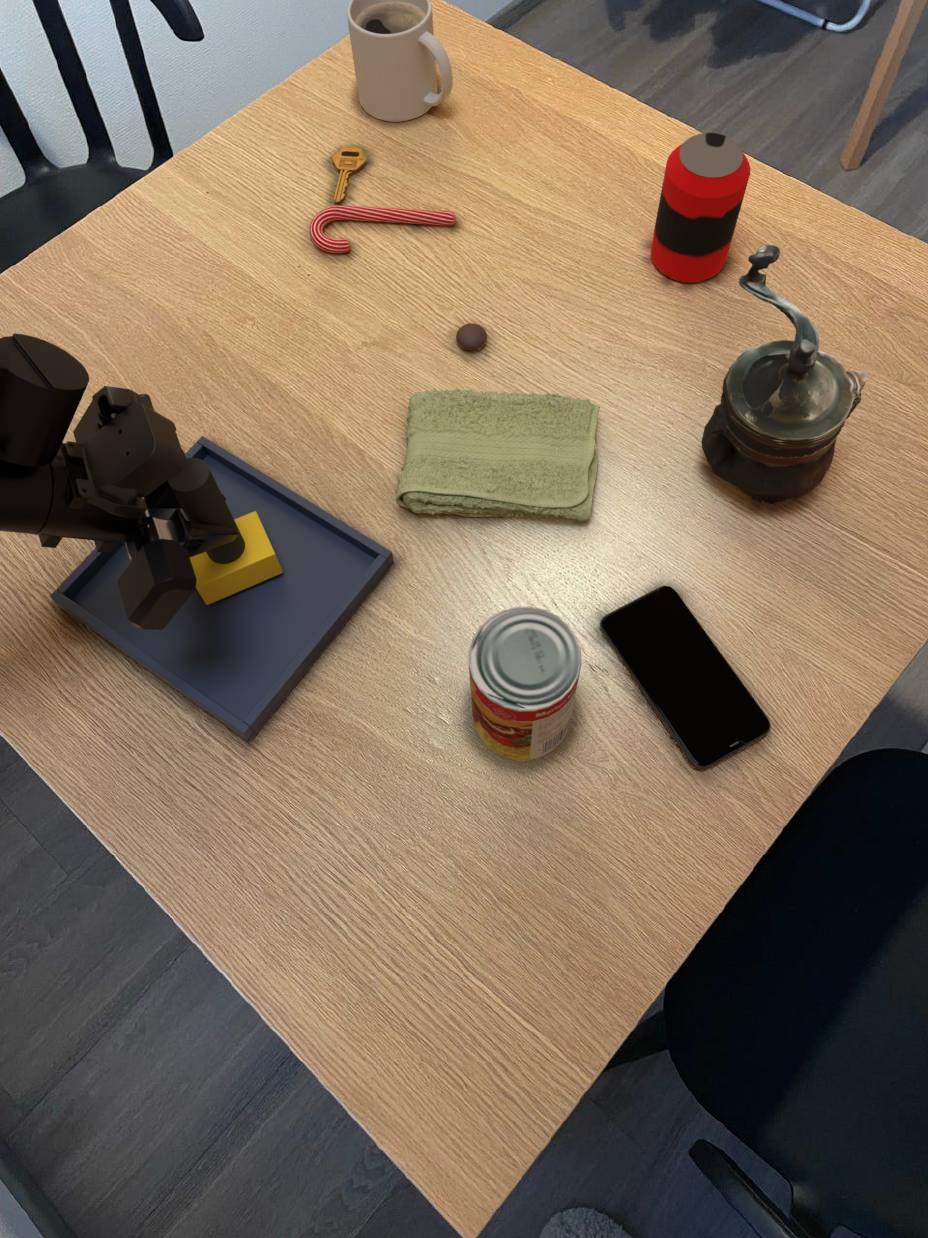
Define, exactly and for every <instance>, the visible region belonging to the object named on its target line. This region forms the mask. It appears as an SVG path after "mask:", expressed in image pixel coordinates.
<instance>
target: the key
mask: <svg viewBox="0 0 928 1238" xmlns="http://www.w3.org/2000/svg"><path fill="white" fill-rule="evenodd" d="M344 155H345V156H344ZM347 155H358V156H347ZM331 159H332V163H333V165H334V167H335V169H336V171H337V172H339V176H338V180H337V185H336V187H335V188H336V189H335V193H334V197H333V200H334V203H335V204H341V201H344V199H345V197H346V189H347V188H348V187H349V186H350V184H349V183H348V180H349V178H350V177H349V176H351V175H353V174H355V173H358V172H359V171H360V170H362V169H363V168H364V166H366V164H367V163H368V158H367V156H366V155H365V152H364V150H363V148H361V147H358V146H357V147H356V146H355V147H354V146H343V147H341V148H340V149H339V150H338V151H336V153H334V154H333V156H332V157H331Z"/></svg>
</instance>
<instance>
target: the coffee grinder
mask: <svg viewBox="0 0 928 1238" xmlns="http://www.w3.org/2000/svg"><path fill="white" fill-rule="evenodd" d="M780 256H781V249H780V248H779V247H778V246H777V245H774V244H762V245H761V246H760V247H758V249H757V250H756V252H755V253H753V254H751V255H749V256H748V262H749V263H750V264H751V267H750V268H749V270H748V272H747V273H746V274H745V275H744V274H743V275H741V276H740V277H739V280H738V286H740V288H741V289H742V290H745V291H746V292H747V293H750V294H752V296H754V297H756V299H758V300H761V301H762V302H765V303H768V304H770V305H773V306H774V307H776V309H777V310H779V311H780V313H783V314H784V315H785V316H786V318H787V319H788V320H789V321H790V323H791V324H792V325H793V326H794V329H795V335H794V340H793V339H792V340H791V339H790V340H789V339H781V340H773V341H769V342H763V343H761V344H759V345H757V346H755V347H749V348H748V349H746V350H744V351H743V352H742V353H741V354H739V356H738V357H737V358H736V360H734V362H732V364H731V365H730V366H729V368H728V371H727V373H726V375H725V376H724V378H723V381H722V388H721V389H722V392H721V396H720V403H719V404H717V405H716V406H715V407H714V409H713V412H712V415H711V416H710V419H709V420H708V422H707V423H706V424H705V426H704V427H703V433H702V437H701V448H702V451H703V455H704V457H705V459H706V462H707V464H708V466H709V468H710V471H711V472H712V474H713V475H715V476H716V477H718V478H720V479H721V480H723V481H724V482H727V484H730V485H731V486H733V487H735V488H737V489H738V490H740V491H741V492H742V494H745V495H746V496H747V497H751V499H753V500H757V501H758V502H759V504H761V503H765V504H769V505H772V506H773V505H774V504H777V503H781V502H784V501H787V500H789V499H791V498H792V499H793V500H798V499H800V498H802V497H804V496H806V495H808V494H809V493H810V492H811V491H813V490H814V489H815V488H817V487H818V486H819V485H820V484H821V483H822V481H823V480H824V478H825V476H826V474H827V472H829V469H830V467H831V465H832V463H833V460H834V457H835V453H836V452H835V451H836V450H835V449H836V444H837V443H836V442H837V438H838V436H839V435H840V433H841V431H842V429H843V427H845V423H846V420H848V419H849V418H850V417H851V415H852V413H853V412H854V411H855V409H856V408H857V407H858V405H859V404H860V403H861V401H862V393H861V392H862V391H863V389H864V388H865V385H866V383H867V378H868V376H867V373H866V372H864V371H862V370H846V369H845V368H844V366H843V364H841V363H840V362H839V361H838V359H837V358H836V357H835V356H833V355H831V354H829V353H827V352H826V351H824V350H820V349H819V348H820V336H819V333H818V331H817V329H816V327H815V325H814V323H813V322H812V321H811V319H810V318H808V316H806V315H804V313H802V312H801V310H800V309H799V307H798V306H796V305H795V304H793V303H792V302H791V301H789V300H787V299H785V298H783V297H781V296H780V295H777V294H776V293H775V292H773V291H772V290H771V289H770V288H769V286H767V284H766V283H767V274H766V273H761V272H759V271H760V270H765V269H767V268H769V266H770V265H771V264H774V263H776V261H778V260H779V258H780Z"/></svg>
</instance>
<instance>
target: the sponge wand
mask: <svg viewBox="0 0 928 1238" xmlns="http://www.w3.org/2000/svg"><path fill="white" fill-rule="evenodd" d="M168 484H169V486H170V487H171V489H172V491H173V493H174V495H175V496H176V498H177V500H178V502H179V504H180V506H181V507H182V509H183V511H184V513H185V515H186V516H187V518H188V520H189V521H192V522H199V523H205V524H212V525H219V526H225V527H228V528H232V529H235V530H237V531H238V534H239V535H238V536H237V537H236V539H235V540H234V541H232V542H230V543H227V544H225V545H222V546H219V547H217V548H214V549H212V550H209V551H206V552H204V553H201V554H198V555H196V556H193V557H191V558H190V560H191V563H192V566H193V569H194V572H195V575H196V578H197V582H196V589H197V590H198V592H199V593H200V595H201V597H202V598H203V600H204V602H205V603H206V605H209V604H211V603H213V602H216V601H218V600H221V599H223V598H225V597H228V596H230V595H232V594H235V593H237V592H239V591H242V590H244V589H246V588H249V587H251V586H253V585H256V584H258V583H260V582H263V581H265V580H267V579H270V578H272V577H274V576H277V575H279V574H281V573H283V570H282V568H281V566H280V563H279V561H278V559H277V557H276V554H275V552H274V550H273V548H272V545H271V543H270V541H269V539H268V537H267V534H266V532H265V530H264V528H263V526H262V523H261V521H260V519H259V517H258V515H257V512H256V511H254V512H252V513H249V514H247V515H244V516H242V517H240V518H237V519H235V520H234V518H233V516H232V514H231V512H230V510H229V508H228V506H227V504H226V502H225V500H224V498H223V496H222V493H221V491H220V489H219V487H218V485H217V483H216V481H215V479H214V477H213V475H212V473H211V471H210V469H209V466H208V465H207V463H206V462H204V461H203V460H201V459H198V458H186V465H185V468H184V469H183V471H182V472H181V473H180V474H179V475H178V476H176V477H175V478H170V479H169V480H168Z"/></svg>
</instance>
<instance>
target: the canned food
mask: <svg viewBox="0 0 928 1238" xmlns="http://www.w3.org/2000/svg"><path fill="white" fill-rule="evenodd" d="M581 670H582V649H581V645H580V643H579V640H578V637H577V635H576V634H575V633H574V631H573V629H572V628H571V627H570V625H569V624H567V622H565V621H564V620H563V619H562V618H561V617H560V616H558V615H557V614H555V613H553V612H551V611H548V610H547V609H544V608H539V607H534V606H513V607H510V608H506V609H502V610H500V611H498V612H496V613H495V614H493V615H491V616H489V617H488V618H487V619H486V620H485V621H484V622H483V623H481V625H479V627H478V629H477V630H476V632H475V633H474V635H473V637H472V639H471V642H470V645H469V649H468V672H469V673H468V675H469V684H470V685H469V686H470V698H471V699H470V700H471V710H472V721H473V725H474V728H475V732H476V734H477V735H478V737H479V738H480V741H481V742H482V743H483V744H484V745H485V746H486V747H487V748H488V749H489V750H490V751H491V752H493V753H495V754H496V755H499V756H500V757H502V758H504V759H508V760H511V761H517V762H518V761H520V762H521V761H526V762H527V761H532V760H537V759H540V758H543V757H544V756H547V755H548V754H549V753H551V752H553V751H554V750H555V749H556V748H557V747H558V746H559V745H560V744H561V743H562V742H563V740H564V738H565V736H566V735H567V733H568V731H569V728H570V722H571V719H572V714H573V710H574V704H575V699H576V693H577V689H578V684H579V680H580V675H581Z"/></svg>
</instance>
